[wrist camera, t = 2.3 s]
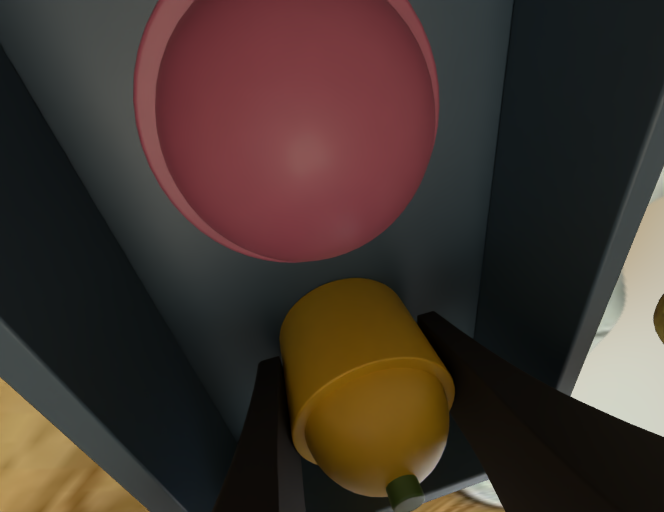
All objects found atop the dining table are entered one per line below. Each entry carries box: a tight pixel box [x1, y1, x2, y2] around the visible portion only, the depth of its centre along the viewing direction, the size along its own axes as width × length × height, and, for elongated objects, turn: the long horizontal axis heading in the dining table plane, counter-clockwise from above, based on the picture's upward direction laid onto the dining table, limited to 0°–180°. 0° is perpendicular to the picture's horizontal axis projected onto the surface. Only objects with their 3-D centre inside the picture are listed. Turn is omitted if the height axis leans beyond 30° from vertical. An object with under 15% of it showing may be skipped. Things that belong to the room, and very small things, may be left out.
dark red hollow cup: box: [133, 0, 439, 263], centre depth 6 cm, size 5×5×5 cm
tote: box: [0, 0, 664, 512], centre depth 9 cm, size 12×17×5 cm
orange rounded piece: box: [279, 278, 455, 512], centre depth 10 cm, size 5×5×6 cm
